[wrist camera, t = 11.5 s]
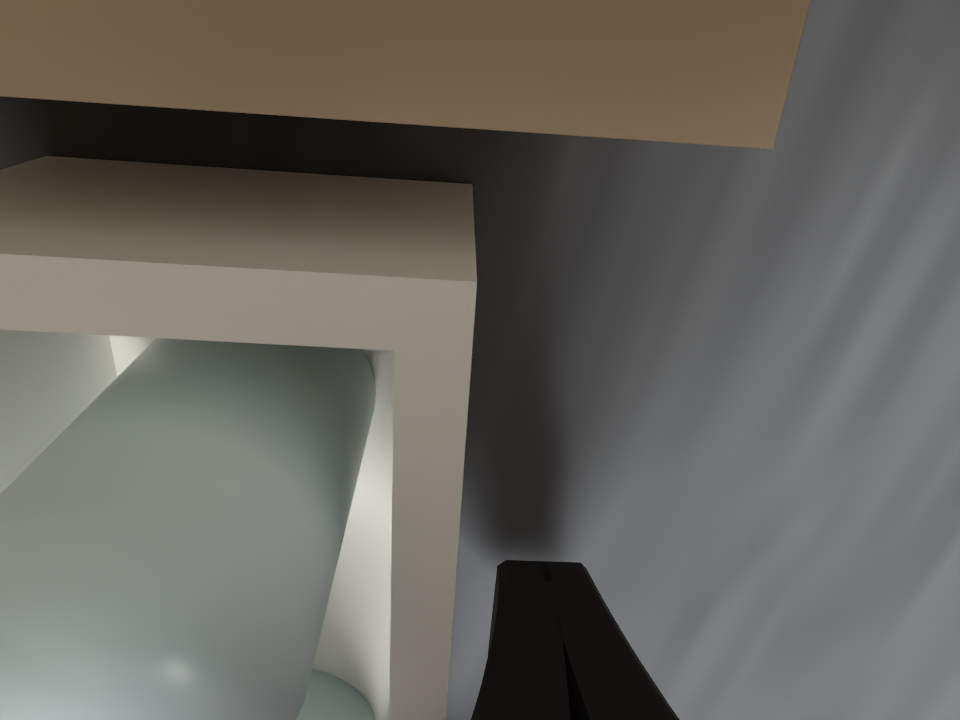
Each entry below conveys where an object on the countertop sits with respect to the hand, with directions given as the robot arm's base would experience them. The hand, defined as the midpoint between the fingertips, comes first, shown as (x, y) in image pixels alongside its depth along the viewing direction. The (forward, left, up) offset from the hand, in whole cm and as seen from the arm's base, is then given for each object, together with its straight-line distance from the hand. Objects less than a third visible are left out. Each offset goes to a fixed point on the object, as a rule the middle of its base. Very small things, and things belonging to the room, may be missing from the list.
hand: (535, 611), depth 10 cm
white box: (0, +4, -1) cm, 4 cm away
